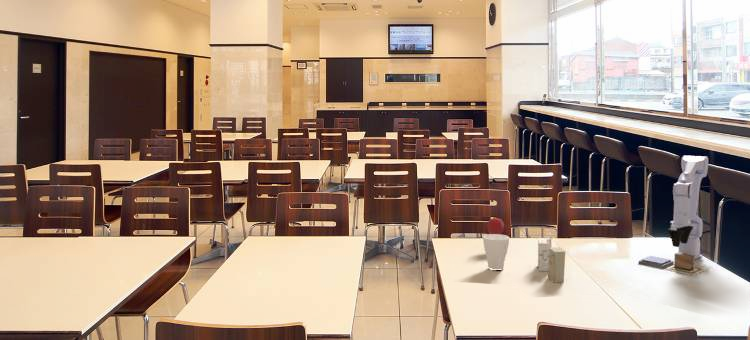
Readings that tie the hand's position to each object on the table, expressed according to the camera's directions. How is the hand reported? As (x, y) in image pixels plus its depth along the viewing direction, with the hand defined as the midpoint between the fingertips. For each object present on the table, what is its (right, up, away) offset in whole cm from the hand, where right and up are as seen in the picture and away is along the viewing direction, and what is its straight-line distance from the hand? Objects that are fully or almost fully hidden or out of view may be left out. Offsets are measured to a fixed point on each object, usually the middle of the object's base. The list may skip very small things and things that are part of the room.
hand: (679, 244), depth 251 cm
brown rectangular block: (0, -9, -2) cm, 10 cm away
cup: (-75, -10, +1) cm, 76 cm away
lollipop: (-69, -6, +31) cm, 76 cm away
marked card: (+1, -10, -3) cm, 10 cm away
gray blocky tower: (-55, -10, +1) cm, 56 cm away
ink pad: (-7, -9, +6) cm, 13 cm away
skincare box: (-55, -12, -15) cm, 58 cm away
